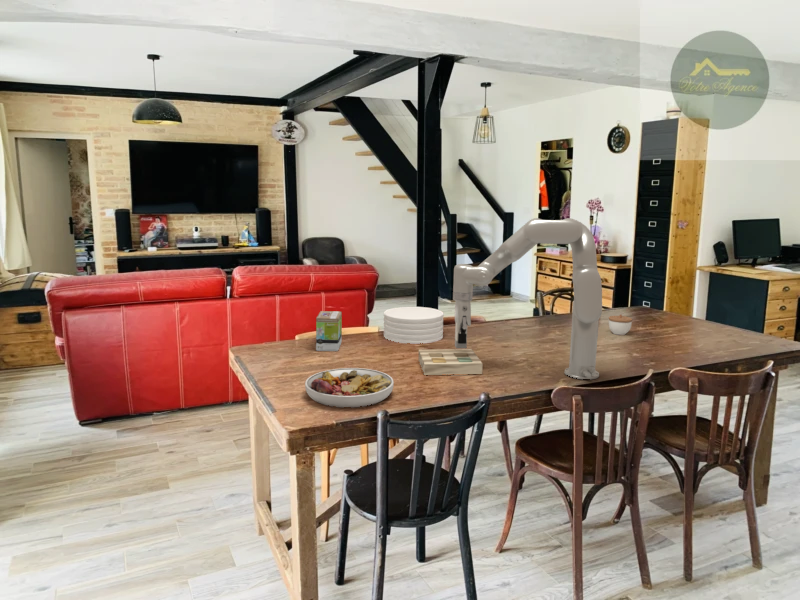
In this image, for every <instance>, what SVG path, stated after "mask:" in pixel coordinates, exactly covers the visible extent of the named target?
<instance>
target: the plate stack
mask: <svg viewBox="0 0 800 600" xmlns="http://www.w3.org/2000/svg"><path fill="white" fill-rule="evenodd" d="M443 332H444V312H443V311H442V310H440V309H437V308H432V307H426V306H425V307H424V306H399V307H392V308H388V309H386V310H384V311H383V338H384V337H385V338H384V339H385V340H387V339H388V341H390V340H391V341H390V342H393V341H394V342H393V343H398V342H399V343H400V344H407V343H410V344H412V345H415V344H417V345H420V343H421V345H422V343H423V344H431V343H436V342H438V341H441V340H442V339H443V337H444V334H443Z"/></svg>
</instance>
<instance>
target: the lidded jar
mask: <svg viewBox="0 0 800 600" xmlns="http://www.w3.org/2000/svg"><path fill="white" fill-rule="evenodd" d="M632 323H633V318H631V317H630V316H625V315H622V314H619V315H610V316H609V317H608V327H609V328H608V329H609V330H610V331H611V332H612V334H613V335H618V336H625V335H626V334H627V333H628V332H629V331H630V330H631V329H632Z"/></svg>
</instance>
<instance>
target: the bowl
mask: <svg viewBox="0 0 800 600" xmlns="http://www.w3.org/2000/svg"><path fill="white" fill-rule="evenodd" d="M304 385H305V386H304V388H305V392H306V393H307V395H308V396H309V397H310V398H311V399H312V400H313V401H315V402H317V403H319V404H322V405H325V406H328V405H329V406H328V407H333V406H336V407H335V408H344V407H351V408H361V407H360V406H362V407H367V405H368V406H370V405H371V404H372V405H375V404H377V403H380V402H382V401H384V400H385V399H386V398H388V396H390V395H391V393H392V391H393V390H394V379H393V377H392V375H391V376H390V375H389V374H388V373H385V372H382V371H379V370H376V369H370V368H363V367H362V368H360V367H344V368H334V369H328V370H324V371H320V372H316V373H314V374H312V375H310V376H309V377H307V379H306V380H305V383H304Z"/></svg>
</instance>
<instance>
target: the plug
mask: <svg viewBox="0 0 800 600" xmlns="http://www.w3.org/2000/svg"><path fill="white" fill-rule="evenodd" d="M461 326H463V324H461ZM461 328H462V327H461ZM454 330H455V331H454V347H455V349H468V347H467V345H468V336H467V337H466V344H459V343H458V333H459V326H458V325H457V323H456V322H455V329H454ZM466 334H467V335H468V332H467V333H466Z"/></svg>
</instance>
